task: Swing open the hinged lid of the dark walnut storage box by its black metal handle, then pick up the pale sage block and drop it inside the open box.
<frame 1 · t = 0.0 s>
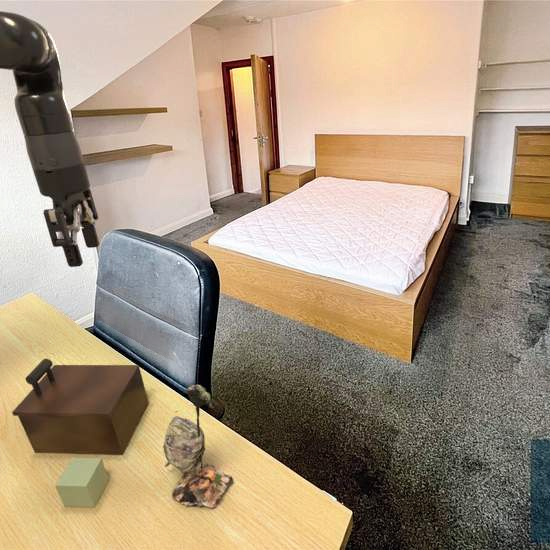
hand: (85, 255, 72), 32 cm above the table, tool pointing down, fingers open, 8 cm apart
lid: (76, 378, 74), point 12 cm above the table, hinge at 0.0°
plant with pod: (197, 485, 66), on the table
block: (87, 492, 66), on the table
chest: (95, 426, 79), on the table
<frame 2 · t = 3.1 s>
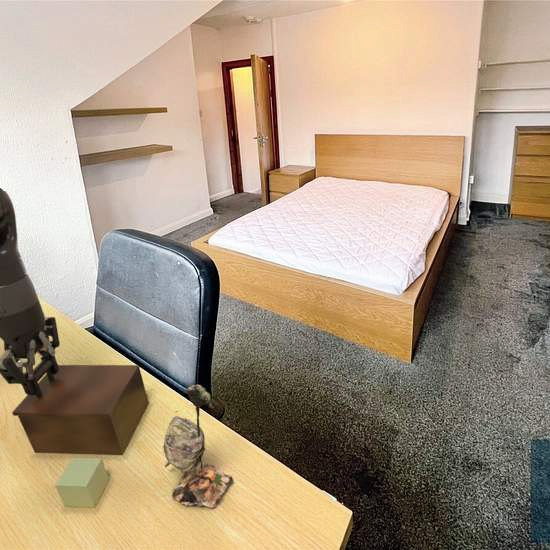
hand: (44, 382, 75), 11 cm above the table, tool pointing down, fingers closed on lid, 5 cm apart
lid: (76, 379, 74), point 12 cm above the table, hinge at 0.0°, touching gripper
everything else where it was.
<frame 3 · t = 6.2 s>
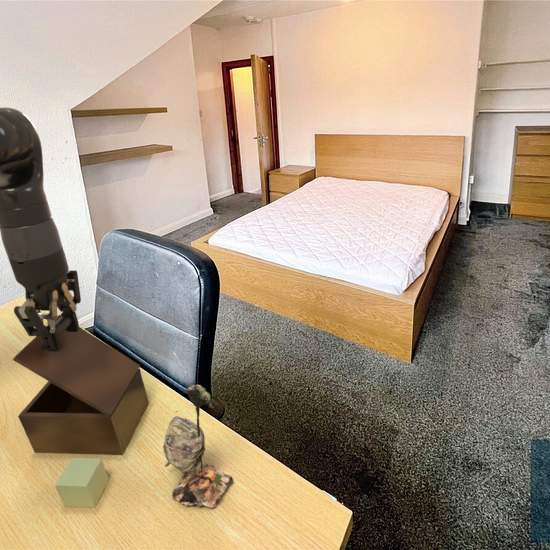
hand: (64, 339, 70), 20 cm above the table, tool pointing down, fingers closed on lid, 5 cm apart
lid: (88, 355, 71), point 17 cm above the table, hinge at 42.2°, touching gripper
everything else where it was.
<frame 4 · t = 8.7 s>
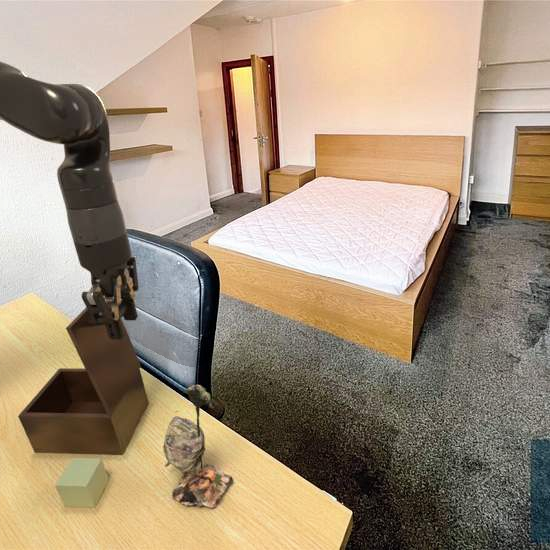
hand: (124, 328, 68), 22 cm above the table, tool pointing down, fingers closed on lid, 5 cm apart
lid: (120, 348, 70), point 18 cm above the table, hinge at 82.9°, touching gripper
everything else where it was.
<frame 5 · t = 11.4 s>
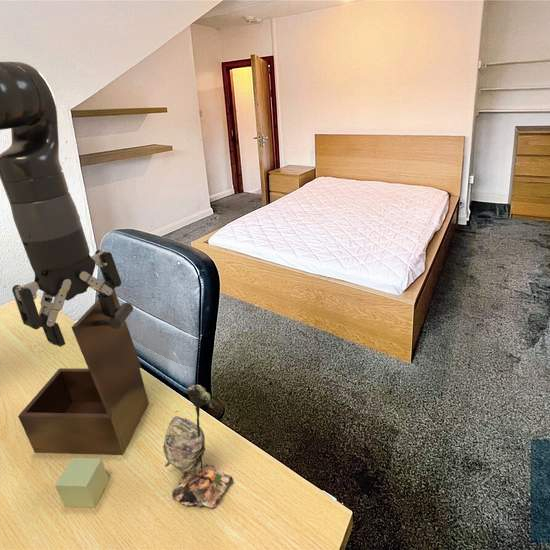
hand: (85, 329, 62), 26 cm above the table, tool pointing down, fingers open, 8 cm apart
lid: (123, 348, 70), point 18 cm above the table, hinge at 86.0°, touching gripper
everything else where it was.
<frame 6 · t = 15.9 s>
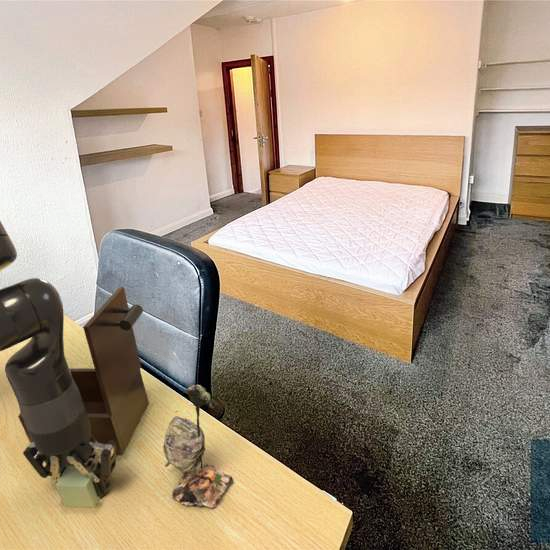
hand: (86, 490, 66), 0 cm above the table, tool pointing down, fingers closed on block, 5 cm apart
lid: (129, 349, 70), point 18 cm above the table, hinge at 92.0°
block: (87, 492, 66), on the table, touching gripper
everything else where it was.
when the fingers open (9 cm above the table, at t = 22.0 s): block drops 8 cm, resting on chest.
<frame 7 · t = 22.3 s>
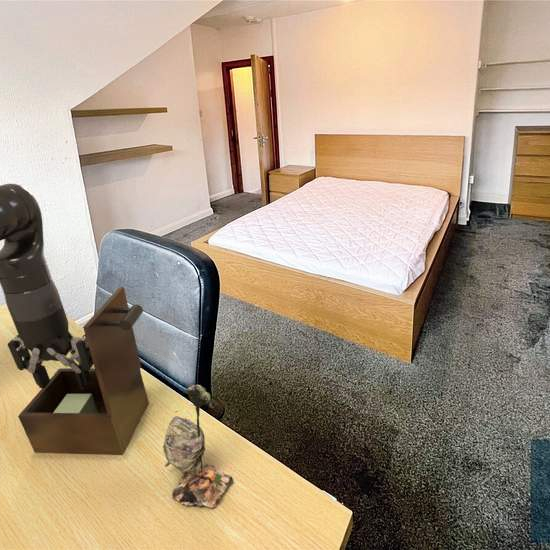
hand: (65, 385, 75), 10 cm above the table, tool pointing down, fingers open, 7 cm apart
block: (80, 422, 79), point 1 cm above the table, touching chest
everything else where it was.
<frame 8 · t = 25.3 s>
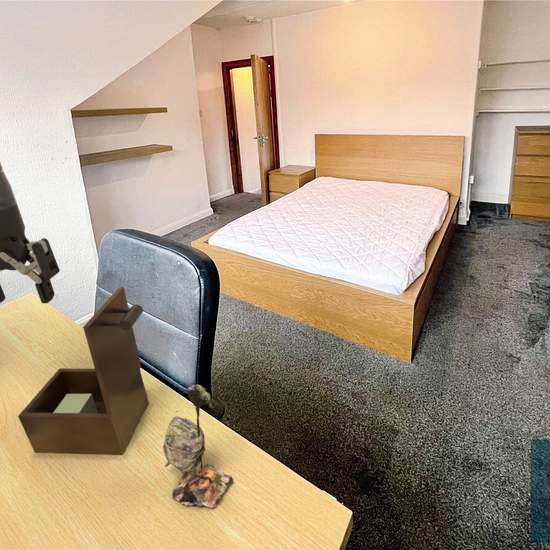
hand: (23, 301, 67), 28 cm above the table, tool pointing down, fingers open, 8 cm apart
nothing on the table moved.
at the end: lid at +92° (first picture: +0°); block inside the target area in the chest (2.9 cm from its centre), point 0.9 cm above the chest's base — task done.
